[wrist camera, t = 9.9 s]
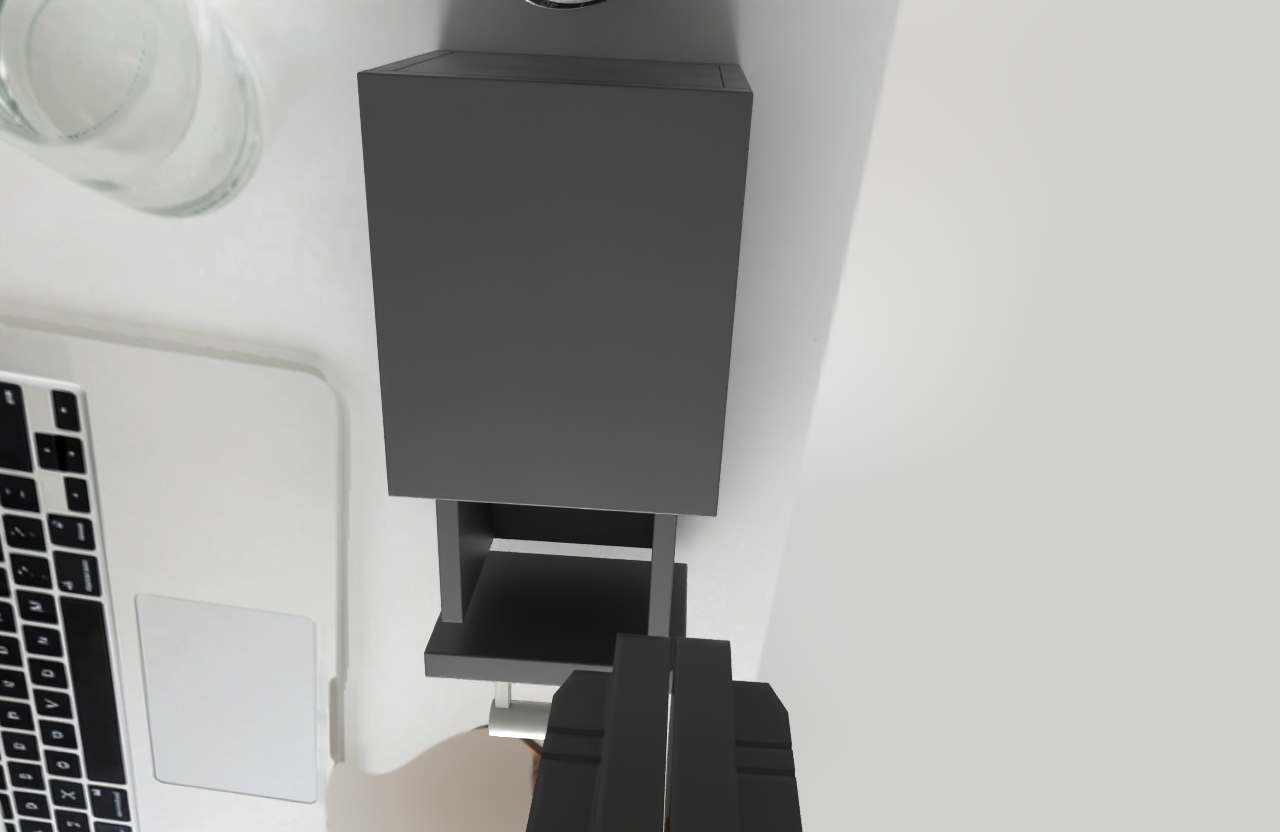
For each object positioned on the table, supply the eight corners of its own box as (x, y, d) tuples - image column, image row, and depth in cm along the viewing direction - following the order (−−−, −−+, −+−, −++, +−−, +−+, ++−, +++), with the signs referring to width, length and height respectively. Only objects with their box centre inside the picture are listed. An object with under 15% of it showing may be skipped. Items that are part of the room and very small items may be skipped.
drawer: (679, 673, 45) (675, 793, 39) (469, 659, 46) (430, 775, 39) (705, 320, 38) (706, 393, 31) (456, 306, 38) (406, 374, 32)
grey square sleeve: (712, 407, 41) (716, 518, 32) (450, 391, 41) (388, 497, 33) (740, 64, 35) (753, 91, 27) (436, 49, 35) (356, 71, 27)
